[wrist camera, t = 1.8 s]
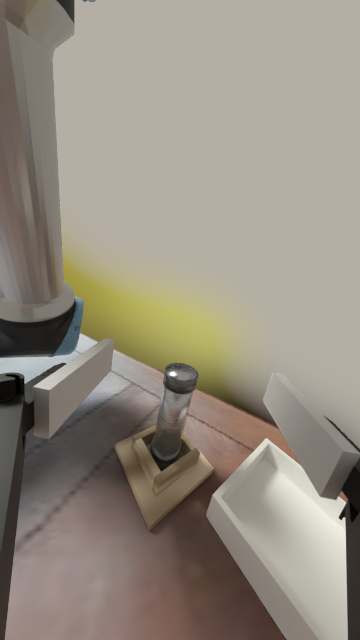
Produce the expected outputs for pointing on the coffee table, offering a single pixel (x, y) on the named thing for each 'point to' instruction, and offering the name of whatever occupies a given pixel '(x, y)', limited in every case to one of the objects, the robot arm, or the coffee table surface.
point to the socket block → (160, 474)
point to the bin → (286, 543)
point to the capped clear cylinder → (172, 413)
